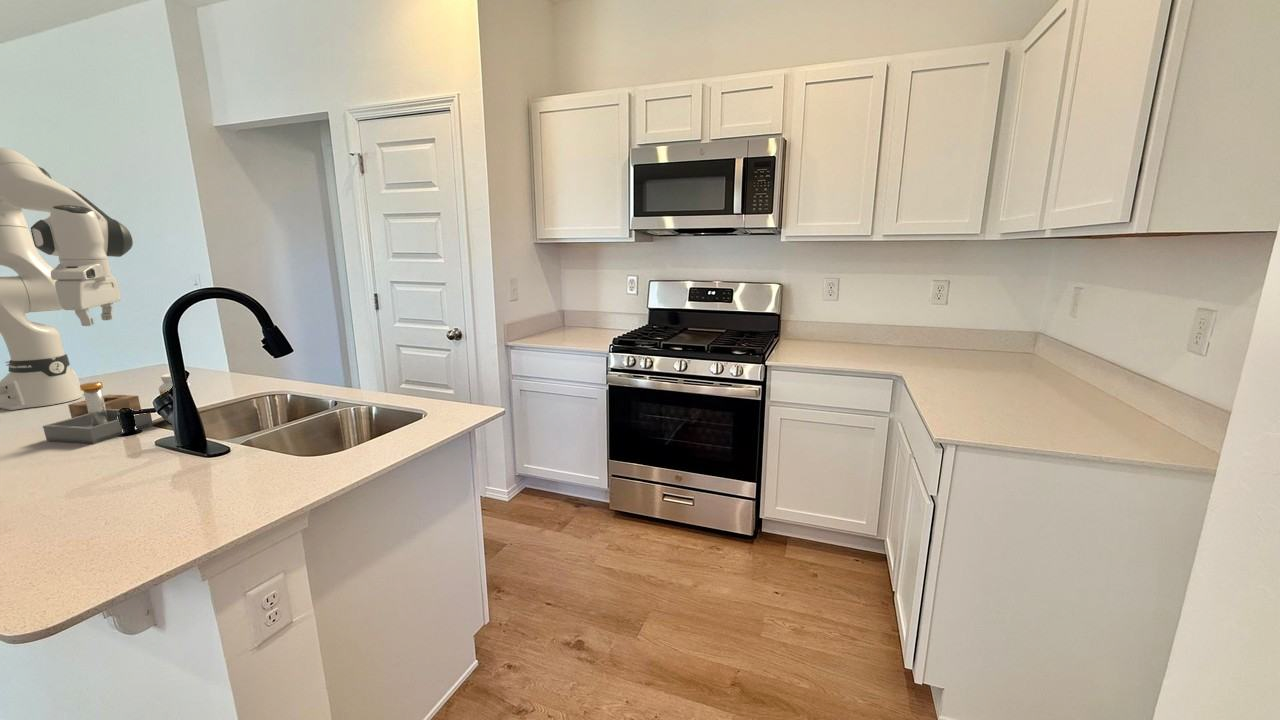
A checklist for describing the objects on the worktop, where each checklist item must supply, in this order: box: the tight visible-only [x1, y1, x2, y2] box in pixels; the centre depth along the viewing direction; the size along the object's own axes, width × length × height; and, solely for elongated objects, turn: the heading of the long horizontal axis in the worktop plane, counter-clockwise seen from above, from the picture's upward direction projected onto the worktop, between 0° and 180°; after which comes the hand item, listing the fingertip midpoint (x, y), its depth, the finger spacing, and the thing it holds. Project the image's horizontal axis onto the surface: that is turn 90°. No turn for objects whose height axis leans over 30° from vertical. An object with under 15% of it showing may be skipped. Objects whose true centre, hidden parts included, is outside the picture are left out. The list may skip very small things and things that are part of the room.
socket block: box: [67, 394, 142, 419], centre depth 148 cm, size 10×10×5 cm
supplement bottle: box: [158, 373, 193, 397], centre depth 146 cm, size 7×7×13 cm
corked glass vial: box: [80, 381, 109, 427], centre depth 134 cm, size 4×4×12 cm
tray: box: [42, 409, 154, 445], centre depth 135 cm, size 14×14×4 cm
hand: (98, 322), depth 138 cm, fingers open, 8 cm apart
